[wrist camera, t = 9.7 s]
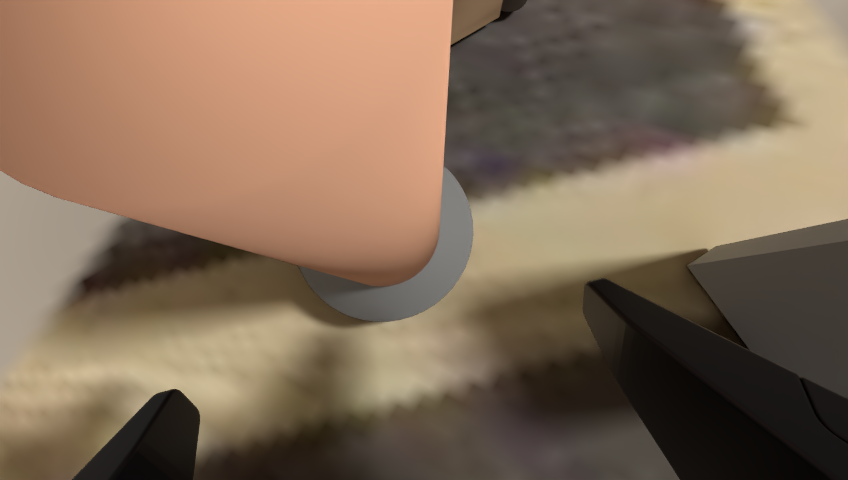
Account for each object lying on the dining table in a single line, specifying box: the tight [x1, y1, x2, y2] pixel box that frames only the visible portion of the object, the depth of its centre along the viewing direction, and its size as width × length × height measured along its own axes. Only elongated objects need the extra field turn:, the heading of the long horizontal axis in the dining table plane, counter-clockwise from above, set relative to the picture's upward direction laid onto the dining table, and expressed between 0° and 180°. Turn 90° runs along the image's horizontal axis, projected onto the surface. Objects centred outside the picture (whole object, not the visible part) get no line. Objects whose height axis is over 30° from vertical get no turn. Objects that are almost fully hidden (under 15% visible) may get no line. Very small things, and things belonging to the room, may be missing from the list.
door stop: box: [0, 0, 473, 322], centre depth 10 cm, size 7×7×14 cm
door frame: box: [687, 219, 848, 399], centre depth 12 cm, size 24×2×10 cm, turn 32°
